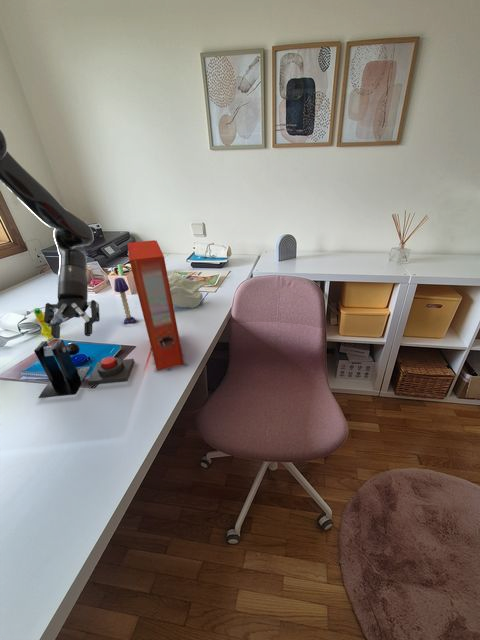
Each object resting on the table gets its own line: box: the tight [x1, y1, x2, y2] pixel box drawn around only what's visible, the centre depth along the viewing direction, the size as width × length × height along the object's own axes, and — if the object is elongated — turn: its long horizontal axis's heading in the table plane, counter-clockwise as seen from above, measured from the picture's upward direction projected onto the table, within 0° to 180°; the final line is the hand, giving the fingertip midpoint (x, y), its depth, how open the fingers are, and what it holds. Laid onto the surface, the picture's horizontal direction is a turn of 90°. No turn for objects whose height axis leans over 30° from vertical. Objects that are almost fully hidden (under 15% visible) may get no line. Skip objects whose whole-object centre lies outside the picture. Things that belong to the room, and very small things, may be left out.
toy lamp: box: [113, 277, 137, 325], centre depth 108 cm, size 5×5×17 cm
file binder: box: [127, 239, 185, 371], centre depth 86 cm, size 8×17×32 cm, turn 22°
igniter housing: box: [86, 357, 135, 386], centre depth 84 cm, size 10×9×4 cm
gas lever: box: [43, 342, 81, 357], centre depth 81 cm, size 13×4×4 cm, turn 8°
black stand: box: [33, 339, 92, 399], centre depth 79 cm, size 12×9×13 cm
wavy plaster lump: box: [168, 275, 206, 309], centre depth 119 cm, size 18×13×16 cm
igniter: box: [100, 356, 117, 369], centre depth 83 cm, size 4×4×2 cm
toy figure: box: [33, 307, 54, 340], centre depth 99 cm, size 7×4×12 cm, turn 26°
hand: (72, 336), depth 87 cm, fingers open, 8 cm apart
